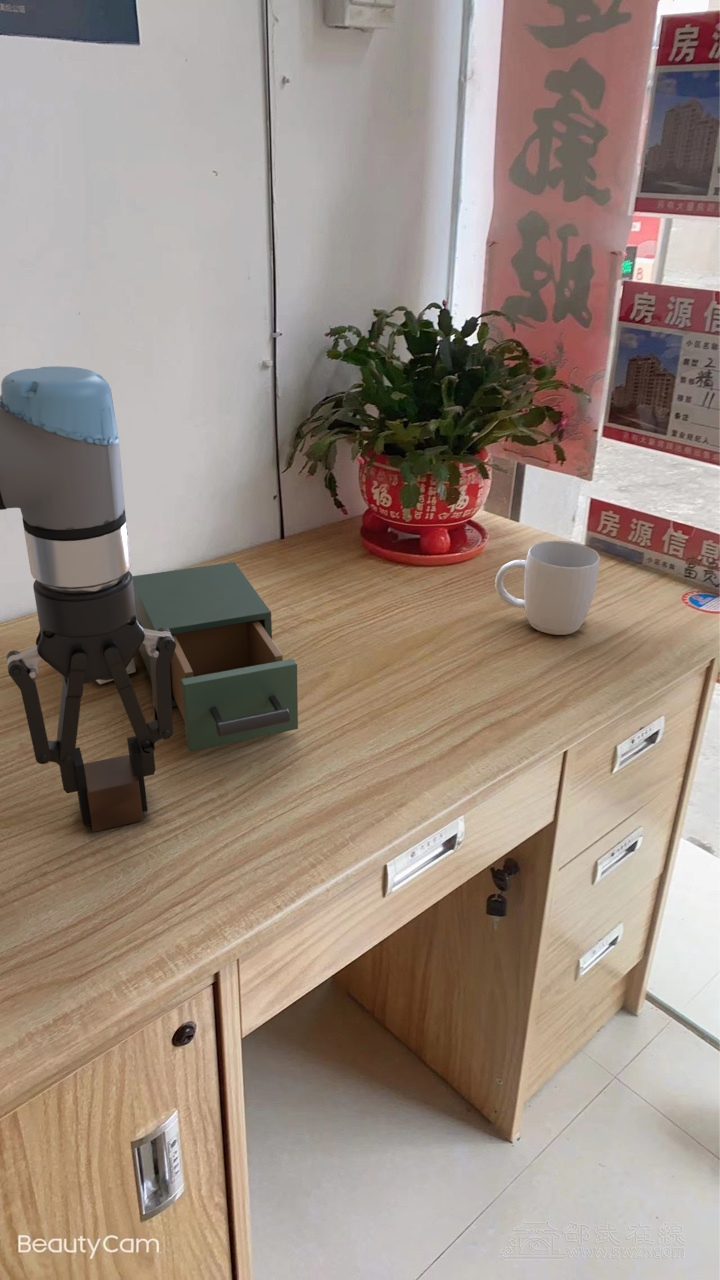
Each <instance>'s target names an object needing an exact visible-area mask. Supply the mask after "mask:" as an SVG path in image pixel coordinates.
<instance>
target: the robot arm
mask: <svg viewBox="0 0 720 1280" xmlns="http://www.w3.org/2000/svg"><path fill="white" fill-rule="evenodd" d="M0 387H1V388H0V390H1V391H0V393H1V394H0V511H2V510H4V511H5V510H7V509H20V513H21V516H22V518H21V519H22V525H23V532H24V537H25V544H26V551H27V557H28V563H29V569H30V574H31V576H32V578H33V579H35V580H34V582H33V587H32V588H33V593H34V599H35V607H36V612H37V618H38V624H39V632H38V635H37V636H36V640H35V644H34V645H32V646H31V647H29V648H27V649H25V650H23V651H21V652H20V651H18V650H11V651H9V652H8V653H7V654H6V665H7V672H8V676H9V677H10V678H11V679H12V681H13V682H14V683H15V685H16V686H17V687H18V688H19V690H20V693H21V699H22V703H23V707H24V711H25V712H24V713H25V716H26V721H27V725H28V726H27V727H28V730H29V734H30V739H31V744H32V748H33V753H34V757H35V761H36V763H38V764H39V765H46V764H48V763H55V764H57V765H58V767H59V771H60V777H61V783H62V788H63V791H64V792H65V793H66V794H71V793H77V799H78V805H79V809H80V810H79V811H80V815H81V820H82V824H83V826H84V827H85V826H89V825H91V818H90V812H89V805H88V798H87V792H86V787H87V783H86V776H85V769H84V764H85V763H84V759H83V755H82V751H81V746H79V747H76V746H77V739H78V731H79V719H80V710H81V702H82V697H83V693H84V686H85V685H87V684H90V683H93V682H96V681H95V680H111V679H113V680H112V681H113V682H114V685H115V687H116V690H117V692H118V694H119V697H120V699H121V703H122V704H123V707H124V709H125V712H126V715H127V717H128V721H129V723H130V725H131V727H132V731H133V732H134V735H135V736H134V735H133V736H129V737H126V740H127V748H128V755H129V758H130V762H131V765H132V768H133V771H134V774H135V776H137V778H138V781H139V788H140V797H141V806H142V813H146V812H148V811H149V810H148V809H149V808H148V802H147V800H148V799H147V792H146V784H145V783H146V782H145V778H147V777H151V776H154V775H155V772H156V761H155V753H154V752H155V750H156V746H155V744H156V743H157V742H158V741H160V740H162V739H163V740H169V739H171V738H172V737H173V735H174V721H173V719H174V718H173V707H172V698H171V679H170V662H171V660H172V657H173V654H174V651H175V648H176V643H175V641H174V639H173V637H172V635H171V633H170V631H169V629H168V628H166V627H162V628H159V629H158V630H157V631H155V630H150V629H144V628H142V625H141V623H140V622H139V621H138V619H137V616H136V607H135V597H134V587H133V578H132V576H133V573H131V571H130V569H131V567H132V559H131V550H130V542H129V533H128V532H129V531H128V523H127V517H126V505H125V494H124V483H123V473H122V471H123V470H122V461H121V451H120V450H121V449H120V437H119V432H118V427H117V419H116V413H115V407H114V402H113V395H112V388H111V386H110V384H109V383H108V382H107V380H106V379H105V378H104V377H103V376H102V375H101V374H100V373H97V372H96V371H93V370H91V369H87V368H83V367H75V366H61V365H60V366H57V365H56V366H41V367H38V368H23V369H20V370H15V371H12V372H10V373H9V374H6V376H4V377H3V378H2V381H1V384H0ZM141 644H145V648H146V651H147V653H148V655H149V656H150V663H151V678H150V680H151V679H152V681H151V692H152V693H151V694H152V708H153V710H152V711H153V720H151V721H149V722H148V723H147V721H146V719H145V716H144V713H143V711H142V708H141V705H140V702H139V700H138V697H137V695H136V692H135V690H134V686H133V684H132V681H131V679H130V676H129V674H128V673H127V671H126V668H127V666H128V665H129V663H130V662H131V660H132V658H133V657H134V658H135V656H136V654H137V652H138V651H139V648H140V646H141ZM42 661H44V662H46V663H47V665H49V666H51V668H52V669H54V670H55V671H56V672H57V673H58V674H60V675H61V681H62V682H61V683H62V686H61V693H60V694H61V695H60V705H59V713H58V714H59V716H58V725H57V735H56V739H55V740H49V738H48V735H47V729H46V725H45V720H44V715H43V714H44V713H43V710H42V705H41V701H40V695H39V691H38V686H37V681H36V677H38V676H39V674H40V663H41V662H42Z"/></svg>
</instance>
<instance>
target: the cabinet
mask: <svg viewBox="0 0 720 1280" xmlns="http://www.w3.org/2000/svg"><path fill="white" fill-rule="evenodd" d="M132 578H133V587H134V597H135V607H136V616H137V619H138V621H139V622H140V623H141V625H142V628H144V629H150V630H155V631H157V630H158V629H159V628H162V627H166V628H168V629H169V631H170V633H171V635H172V634H178V633H184V632H190V631H196V630H202V629H208V628H215V627H221V626H227V625H233V624H239V623H245V622H251V621H257V620H258V621H259V622H260V623H261V625H262V626H263V628H264V629H265V631H266V632H267V634H268V635H269V637H270V638H271V639H272V640H273V626H272V625H273V624H272V611H271V610H270V608H269V607H268V606H267V604H266V603H265V601H264V600H263V599H262V597H261V596H260V595H259V593H258V592H257V590H256V589H255V588H254V586H253V585H252V584H251V582H250V580H249V579H248V578H247V576H245V574H244V573H243V571H242V570H241V569H240V567H239V566H238V565H237V563H236V562H235V561H232V562H225V563H217V564H210V565H203V566H196V567H190V568H189V567H188V568H181V569H173V570H167V571H159V572H153V573H146V574H139V575H132ZM138 651H139V654H140V656H141V658H142V661H143V664H144V666H145V668H146V670H147V673H148V676H149V678H150V680H151V682H152V679H151V663H150V656H149V655H148V653H147V651H146V648H145V644H141V646H140V648H139V649H138ZM171 698H172V708H174V707H178V705H177V703H176V701H175V698H174V696H173V694H172V691H171Z"/></svg>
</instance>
